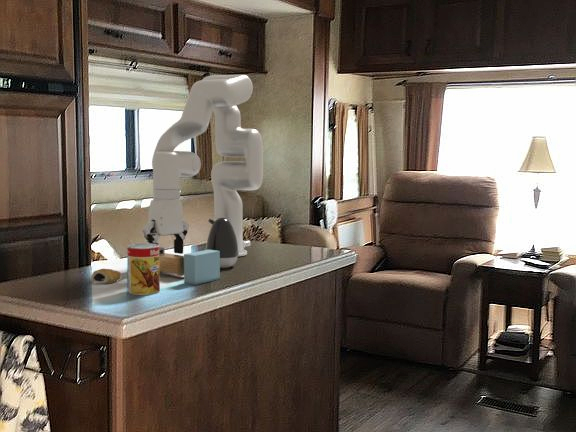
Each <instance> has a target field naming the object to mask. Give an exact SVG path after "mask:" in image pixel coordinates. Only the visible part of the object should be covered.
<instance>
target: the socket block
mask: <svg viewBox="0 0 576 432" xmlns="http://www.w3.org/2000/svg"><path fill="white" fill-rule="evenodd" d="M183 256H184V275H183V283H184V284H188V285H193V286H196V285H200V284H201V285H202V284H206V283H210V282H215V281H218V280H220V279H221V275H220V274H221V272H220V271H221V268H220V251H216V250H206V249H204V250H200V251H199V250H198V251H195V252H188V253H183Z"/></svg>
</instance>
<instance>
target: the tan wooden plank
mask: <svg viewBox="0 0 576 432" xmlns="http://www.w3.org/2000/svg"><path fill="white" fill-rule="evenodd" d="M159 271H162V272H161V273H169V274H174V275H177V276H178V277H182V276H184V255H182V254H173V253H166V252H165V253H161V252H159Z"/></svg>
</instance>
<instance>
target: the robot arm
mask: <svg viewBox="0 0 576 432" xmlns="http://www.w3.org/2000/svg"><path fill="white" fill-rule="evenodd" d="M253 90H254V85H253V82H252V80H251V78H250V77H249V76H248V75H246V74H213V75H207V76H205V77H204V78H202V79H200V80H198V81H196V82H194V83H193V84H192V86H191V88H190V90H189V93H188V96H187V100H186V102H185V105H184V108H183V111H182V114H181V117H180V119H178V120H177V121H176V122H175V123H173V125H171V126H170V127H169V128H167V130H166V131H165V132H164V133H162V135H161V136H160V137H159V139H158V141H157V144H156V146H155V149H154V152H153V156H152V160H151V165H152V199H151V200H150V204H149V209H148V218H147V224H145V225H144V226H143V227H142V228H141V231H142V233H143V235H144V238H145V239H146V242H147V243H151V244H158V245H159V242H158V241H159V240H160V238H161V237H164V236H172V235H173V236H174V238H175V239H174V240H173V253H175V254H178V255H184V241H185V240H186V236H187V234H188V231H189V228H190V223H188V222H187V221H186V220H184V212H183V205H182V200H181V195H182V191H181V178H191V177H194V176H196V175H197V174H198V173H200V171H201V167H202V162H201V158H200V156H198V155H197V154H196V153H195V152H192V151H189V150H187V151H185V150H184V151H183V150H175V149H176V148H177V147H178V146H179V145H181V144H182V143H184V142H186V141H188V140H192V139H194V138H195V137H198V136H200V135H202V134H203V133H206V131H207V129H208V128H209V125H210V121H211V119H212V115H213V113H214V122H215V123H214V129H215V130H214V131H215V132H214V133H215V135H214V136H215V139H214V140H215V150H216V153H217V155H219V156H221V157H224V158H225V157H227V158H245V161H237V160H234V161H233V160H225V161H219V162H216V163H215V164H214V165H213V166H212V168H211V171H210V177H211V183H212V188H213V201H214V202H213V204H214V205H213V206H214V207H213V210H214V211H213V214H214V219H213V221H215V220H217V219H218V218H226V219H228V220H229V221H230V223H231V224H232V226H233V229H234V231H235V234H236V238H237V242H238V249H239V255H238V257H244V256H246V255H248V251H247V250H246V249H245V248H246V247H250V246H251V241H250V240H243V239H244V238H243V233H244V232H243V231H244V230H243V225H244V224H243V221H244V220H243V217H244V216H243V209H244V208H243V207H244V205H243V199H242V198H241V196H240V195H239V193H238V191H257V190H258V189H260V188H261V186H262V184H263V181H264V180H263V179H264V144H263V137H262V135H261V133H260V132H259V130H257V129H255V128H242V122H241V121H242V119H241V117H242V116H241V111H240V109H239V108H238V105H241V104H244V103H246V102H248V101H249V99H250V98H251V96H252V94H253ZM159 246H160V245H159ZM238 257H237V258H238Z"/></svg>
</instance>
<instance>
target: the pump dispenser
mask: <svg viewBox="0 0 576 432" xmlns="http://www.w3.org/2000/svg"><path fill="white" fill-rule="evenodd" d="M208 223H210V224H211V227H210V229H209V233H208V235H207V240H206V245H205V250H216V251H220V269H228V268H231V267H233V266H234V265H235V264H236V262H237V261H238V255H239V249H238V242H237V238H236V234H235V231H234V229H233V226H232V224H231V223H230V221H229V220H228V219H226V218H218V219H217V220H215V221H214V219H211V218H209V219H208Z"/></svg>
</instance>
